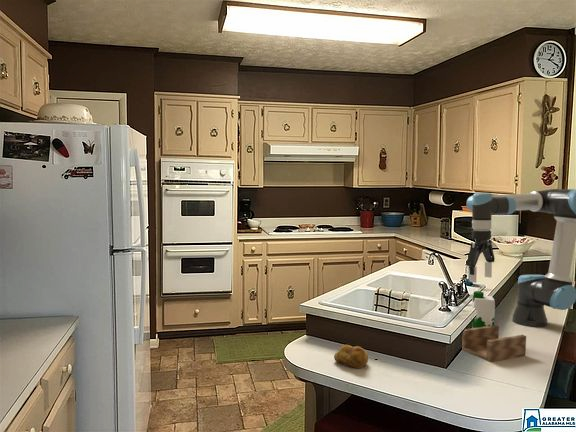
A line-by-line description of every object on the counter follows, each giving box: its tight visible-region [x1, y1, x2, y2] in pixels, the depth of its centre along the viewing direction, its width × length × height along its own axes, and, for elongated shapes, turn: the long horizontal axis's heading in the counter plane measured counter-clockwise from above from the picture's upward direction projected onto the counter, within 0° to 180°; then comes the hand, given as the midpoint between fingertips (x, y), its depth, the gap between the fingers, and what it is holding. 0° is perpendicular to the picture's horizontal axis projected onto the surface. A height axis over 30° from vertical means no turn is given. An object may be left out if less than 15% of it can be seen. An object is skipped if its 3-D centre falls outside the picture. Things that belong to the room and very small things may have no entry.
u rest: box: [461, 324, 527, 363], centre depth 198 cm, size 18×16×8 cm
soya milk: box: [471, 290, 496, 328], centre depth 214 cm, size 9×9×20 cm
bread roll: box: [333, 344, 369, 369], centre depth 184 cm, size 13×10×8 cm
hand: (480, 279), depth 210 cm, fingers open, 13 cm apart
